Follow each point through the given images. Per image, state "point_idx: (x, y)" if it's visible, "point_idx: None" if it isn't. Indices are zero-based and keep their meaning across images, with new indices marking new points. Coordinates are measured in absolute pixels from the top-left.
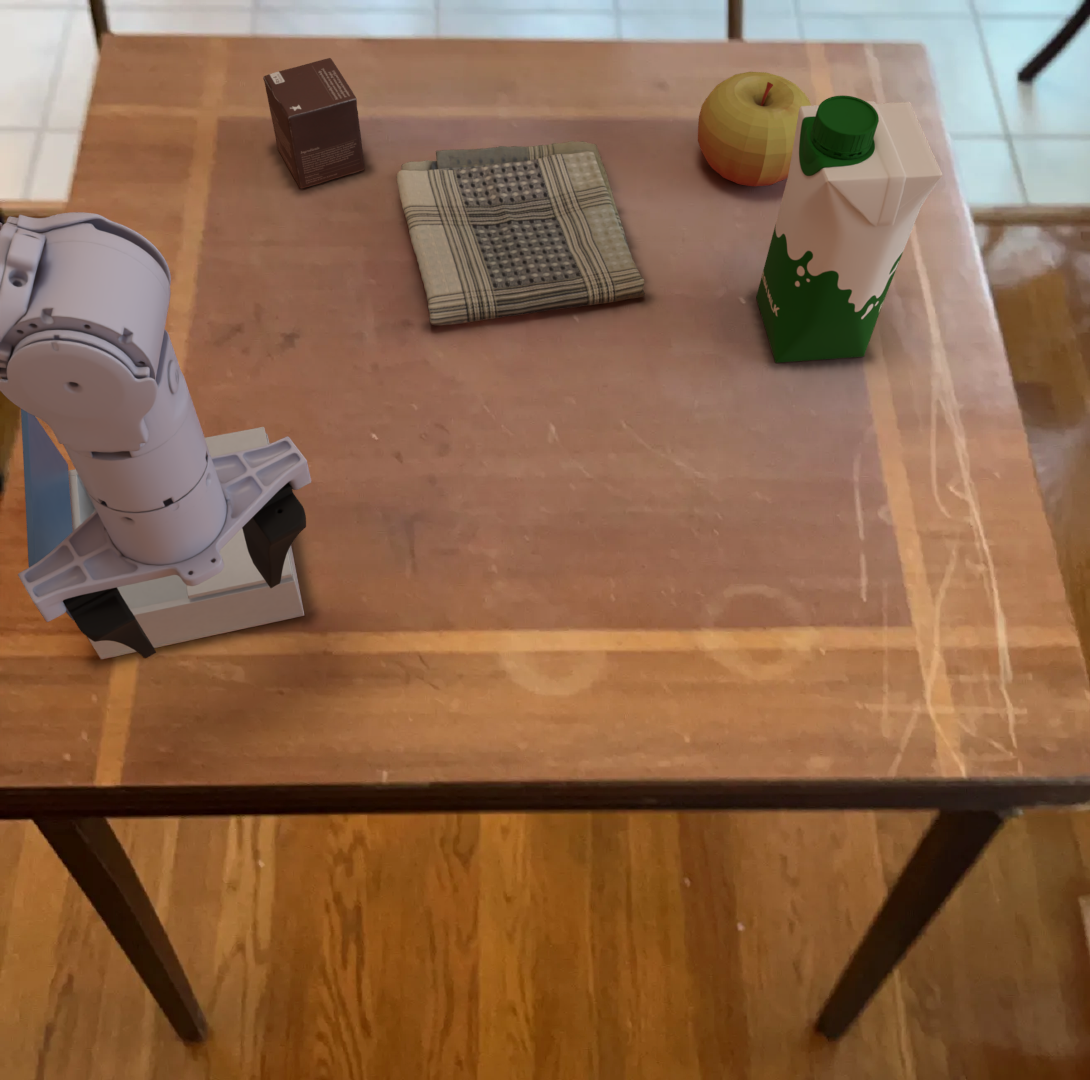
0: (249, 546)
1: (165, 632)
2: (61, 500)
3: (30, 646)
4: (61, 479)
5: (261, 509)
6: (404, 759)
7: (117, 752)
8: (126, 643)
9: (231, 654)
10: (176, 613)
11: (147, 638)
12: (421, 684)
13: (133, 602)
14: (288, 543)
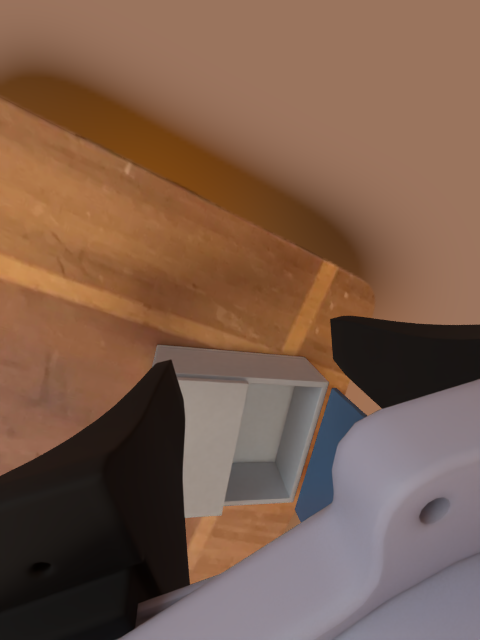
0: (181, 428)
1: (264, 361)
2: (317, 489)
3: (338, 379)
4: (309, 505)
5: (104, 576)
6: (104, 175)
7: (317, 285)
8: (412, 323)
9: (221, 331)
10: (257, 372)
11: (351, 333)
12: (68, 244)
13: (273, 391)
14: (89, 430)
